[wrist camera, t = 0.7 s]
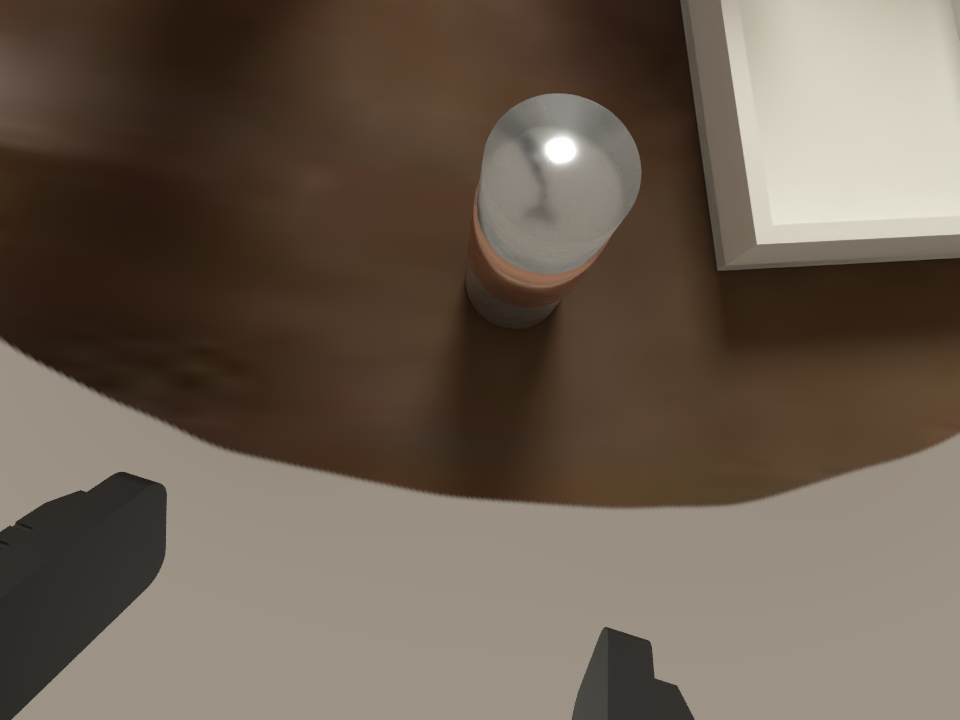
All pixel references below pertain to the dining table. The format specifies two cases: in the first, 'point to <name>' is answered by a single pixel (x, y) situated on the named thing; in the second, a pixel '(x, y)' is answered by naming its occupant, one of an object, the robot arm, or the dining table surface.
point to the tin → (546, 205)
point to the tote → (828, 129)
